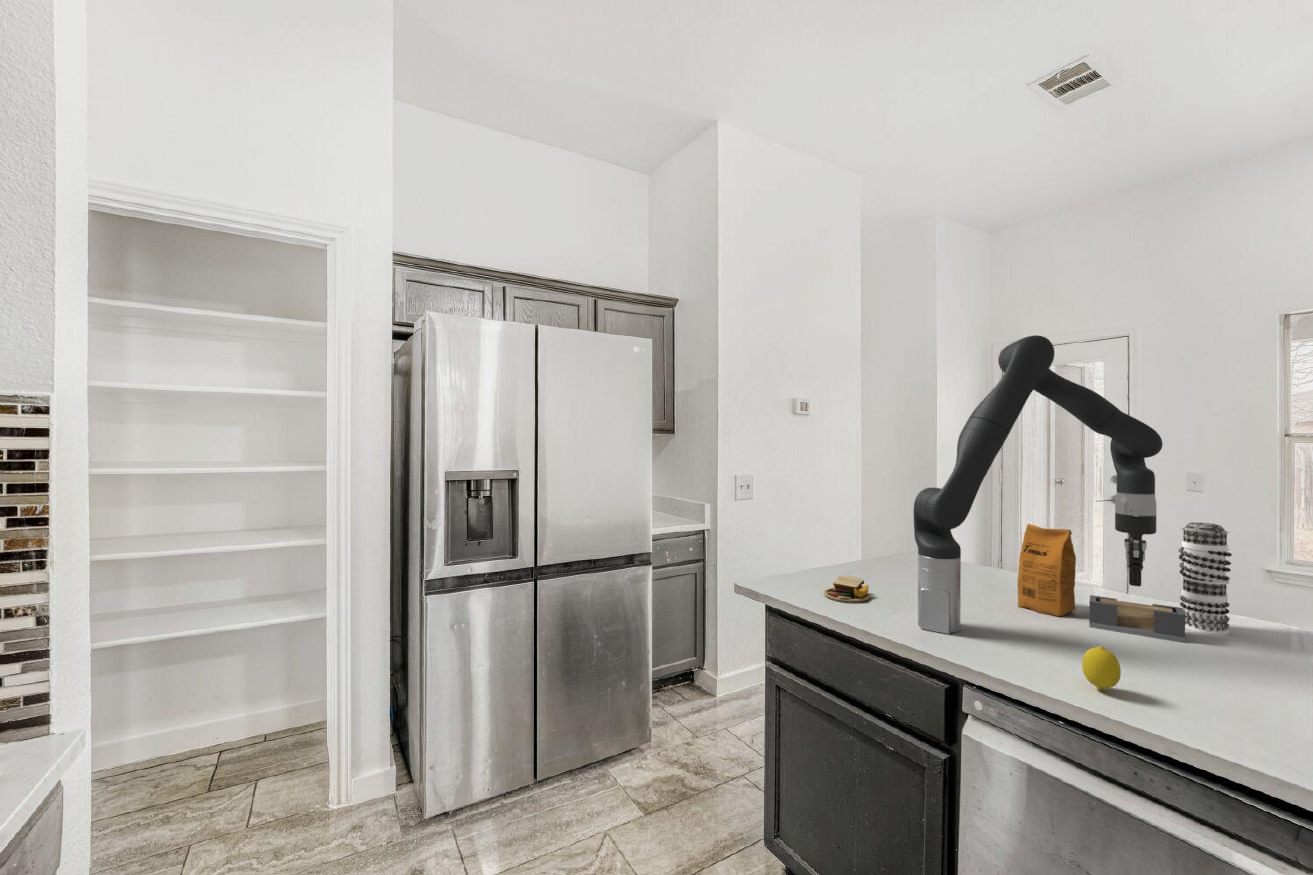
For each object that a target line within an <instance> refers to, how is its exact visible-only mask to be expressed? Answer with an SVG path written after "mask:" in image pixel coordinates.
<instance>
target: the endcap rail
mask: <svg viewBox="0 0 1313 875" xmlns="http://www.w3.org/2000/svg"><path fill="white" fill-rule="evenodd" d="M1101 598H1102V599H1110V600H1117V598H1114V597H1107V596H1099V595H1094V594H1093V595H1091V594H1090V596H1089V614H1088V615H1089V624H1088V625H1089V627H1088V628H1093V627H1096V628H1095V629H1099V628H1100V630H1105V629H1106V631H1111V630H1112V632H1117V631H1118V632H1117V633H1123V632H1127V633H1126V634H1129V633H1132V634H1131V635H1135V634H1137V636H1141V635H1142V637H1147V636H1148V638H1154V639H1160V640H1165V639H1166V641H1171V642H1179V643H1183V644H1185V643H1186V629H1185V614H1184V611H1183V607H1180V606H1179V607H1178V606H1171V605H1165V604H1156V603H1152V604H1151V605H1152V606H1159V607H1167V608H1172V611H1173V612H1168V611H1161V610H1154V630H1149V629H1143V628H1136V627H1130V626H1124V625H1118V624H1117V604H1112V603H1105V602H1100V599H1101ZM1117 601H1118V600H1117Z"/></svg>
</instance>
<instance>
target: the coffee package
mask: <svg viewBox="0 0 1313 875" xmlns="http://www.w3.org/2000/svg"><path fill="white" fill-rule="evenodd" d="M1072 534H1073V533H1072V530H1071V529H1066V528H1044V527H1040V526H1037V525H1034V524H1030V523H1027V524H1026V528H1025V532H1024V534H1023V540H1022V544H1021V550H1020V553H1019V559H1018V560H1019V562H1018V573H1017V607H1018V608H1025V609H1029V610H1032V611H1035V612H1037V613H1039V614H1045V615H1050V616H1056V617H1062V616H1064V615H1066V614H1069V613H1072V612H1074V611H1076V597H1075V586H1076V564H1077V557H1076V553H1075V550H1074V545H1073V541H1072Z"/></svg>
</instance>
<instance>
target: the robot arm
mask: <svg viewBox="0 0 1313 875" xmlns="http://www.w3.org/2000/svg"><path fill="white" fill-rule="evenodd" d="M997 360H998V361H997V363H998V366H999V368H1000V369H1001V371H1002V373H1003V375H1002V376H1001V378H1000V380H999V381H998V383H997V384H996V385H995V386H994V388H992V390H991V391H990V392H989V393H988V394H987V395H986V396H985V397H984V398H983V399H982V400H981V401H980V402H979V404H978V405H977V406H976V407H975V408H974V410H973V411H972V412H971V414H970V416H969V417H968V419H967V421H966V422H965V424H964V425H963V428H962V429H961V431H960V434H959V436H958V440H957V444H956V446H957V447H956V458H955V459H956V460H955V465H954V468H953V469H952V472H951V474H950V475H949V477H948V479H947V480H946V482H945V484H944V485H943V486H942V488H939V487H926V488H924V489H922V490H921V491H919V493H918V494H917V495H916V497H915V500H914V502H913V530H914V531H913V532H914V541H915V543H916V545H917V624H918V626H919V627H920V629H922V630H926V631H927V630H928V631H933V632H937V633H942V634H951V633H956V632H959V631H961V617H962V616H961V613H962V612H961V606H962V605H961V602H962V601H961V599H962V598H961V597H962V596H961V585H962V584H961V583H962V582H961V577H962V576H961V571H962V561H961V559H962V557H961V556H962V548H961V545H960V544H959V543H958V542H957V540H956V539H955V538H954V536H953V533H952V530H954V529H957V528H958V527H960V526H961V525H962V524H963V523H964V522H965V521H966V519H967V517H968V516H969V513H970V512H971V509H972V506H973V504H974V502H975V499H976V497H977V494H978V492H979V490H980V488H981V485H982V482H983V481H984V479H985V477H986V475H987V473H988V472H989V470H990V468H991V467H992V465H993V462H994V460H995V459H996V457H997V455H998V453H999V452H1000V450H1002V447H1003V445H1004V444H1005V442H1006V441H1007V438H1008V436H1010V435H1009V434H1010V433H1011V431H1012V428H1014V425H1015V423H1016V421H1017V419H1018V417H1019V416H1020V415H1021V412H1022V411H1023V409H1024V407H1025V404H1027V401H1028V398H1029V397H1030V396H1031V394H1032V392H1033V391H1035V392H1036V393H1038V394H1040V395H1041V396H1044V397H1045V398H1047V399H1048V400H1049V401H1051V402H1053V403H1055V404H1056V405H1057V406H1059V407H1061V408H1062V409H1063V410H1065V411H1067V412H1068V413H1069V414H1071V415H1072V416H1073V417H1075V418H1076V419H1077V420H1078V421H1080V422H1081V423H1082V424H1083V425H1085V426H1087V427H1088V428H1089V429H1090V430H1092V431H1093V432H1095V433H1096V434H1098V435H1102V436H1106V437H1108V438H1110V439H1111V440H1110V446H1109V447H1110V448H1109V449H1110V455H1111V458H1112V463H1113V467H1114V469H1115V470H1114V471H1115V473H1116V494H1115V500H1114V529H1115V531H1117V532H1120V533H1126V534H1128V538H1124V539H1123V540H1124V548H1125V559H1126V560H1127V563H1128V564H1127V568H1128V584H1129V585H1130V586H1133V587H1141V586H1142V572H1143V569H1144V563H1143V562H1145V561H1146V550H1147V547H1148V546H1147V540H1144V539H1143V536H1144V535H1146V536H1147V535H1154V534H1156V533H1157V499H1156V475H1155V472H1154V471H1153V469H1152V470H1151V468H1148V467H1147V465H1146V460H1145V459H1146V458H1152V457H1154V456H1156V455H1157V454H1159V453H1161V452H1160V451H1161V450H1162V448H1163V440H1162V439H1163V438H1162V437H1161V435H1160V434H1159V433H1158V432H1157V431H1156V430H1155V429H1154V428H1152V427H1151V426H1150V425H1149V424H1146V423H1145V422H1142V421H1141V420H1139V419H1137V418H1135V417H1133V416H1131V415H1129V414H1127V413H1125V412H1123V411H1122V410H1120V409H1119V408H1118V407H1117V406H1115V405H1114V404H1113V403H1111V401H1109V400H1108V399H1107V398H1105V397H1103V396H1102V395H1101V394H1099V393H1098V392H1096V391H1094V390H1092V389H1090V388H1088V387H1086V386H1083V385H1081V384H1078V383H1076V382H1075V381H1074V382H1073V381H1071V380H1069V379H1067V378H1065V377H1062V376H1061V375H1060V374H1057V373H1056V372H1054V371H1052V369H1050V368H1051V366H1052V364H1053V362H1054V360H1055V347H1054V345H1053V343H1052V342H1051V340H1050V339H1049V338H1047V337H1045V336H1042V335H1039V334H1038V335H1030V336H1029V335H1028V336H1025V337H1022V338H1020V339H1018V340H1016V341H1014V342H1012V343H1010V344H1008V345H1006V346H1005V347H1004V348H1003V349H1002V350H1001V351H1000V353H999V355H998V359H997Z"/></svg>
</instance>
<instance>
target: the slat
mask: <svg viewBox="0 0 1313 875" xmlns="http://www.w3.org/2000/svg"><path fill="white" fill-rule="evenodd" d="M1100 602H1105V603H1112V604H1117V624H1118V625H1124V626H1130V627H1136V628H1143V629H1149V630H1154V610H1161V611H1168V612H1173V611H1172V608H1167V607H1159V606H1152V604H1151V605H1150V604H1145V603H1137V602H1129V601H1123V600H1110V599H1102V598H1101V599H1100Z"/></svg>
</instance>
